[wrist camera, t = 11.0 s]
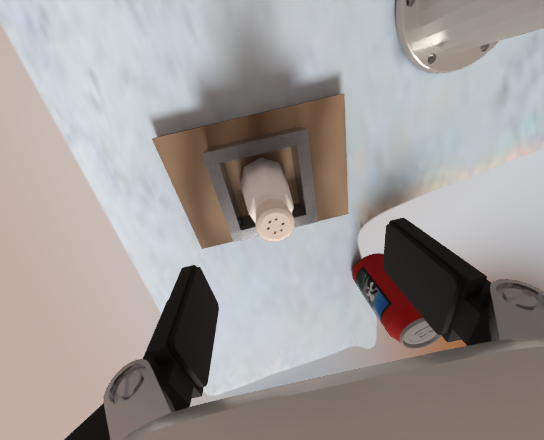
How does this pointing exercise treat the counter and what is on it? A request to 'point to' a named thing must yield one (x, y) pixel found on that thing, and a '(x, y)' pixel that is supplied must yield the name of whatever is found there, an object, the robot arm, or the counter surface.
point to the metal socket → (253, 146)
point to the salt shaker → (268, 199)
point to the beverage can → (391, 304)
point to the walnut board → (196, 180)
